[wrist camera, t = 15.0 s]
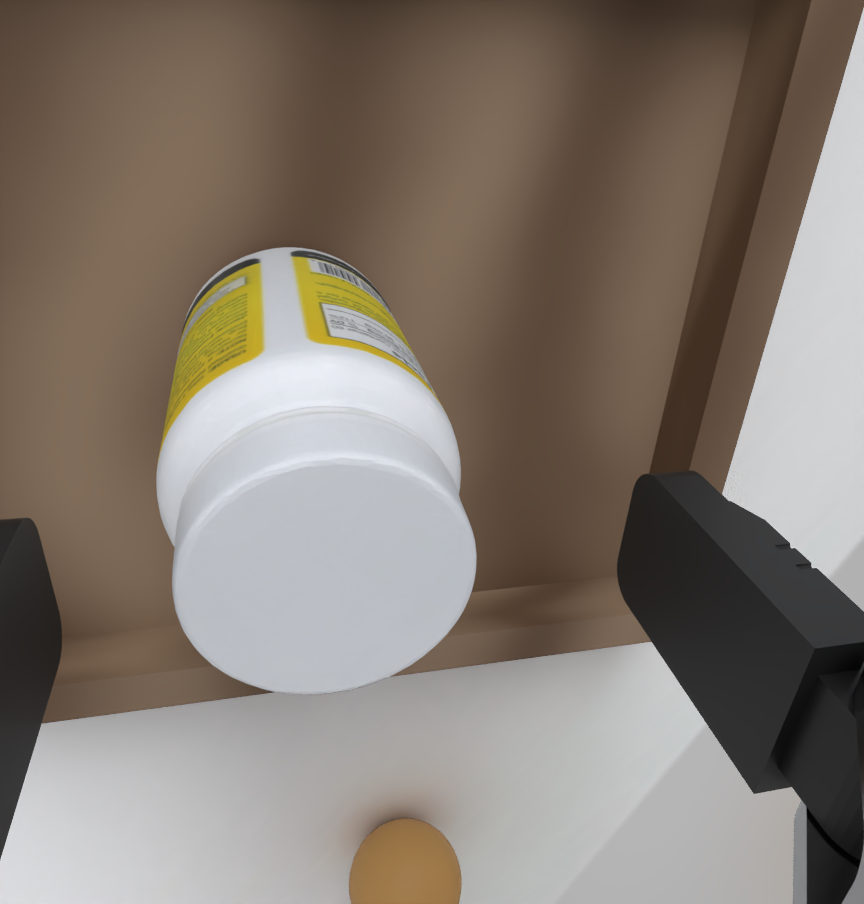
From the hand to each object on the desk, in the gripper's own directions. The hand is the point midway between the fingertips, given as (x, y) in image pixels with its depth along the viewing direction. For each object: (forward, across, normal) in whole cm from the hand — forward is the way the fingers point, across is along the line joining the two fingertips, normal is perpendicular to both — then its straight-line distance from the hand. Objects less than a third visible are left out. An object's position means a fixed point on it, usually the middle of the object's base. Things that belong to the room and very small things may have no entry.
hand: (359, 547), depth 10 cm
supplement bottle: (+8, 0, 0) cm, 8 cm away
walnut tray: (+9, 0, 0) cm, 9 cm away
